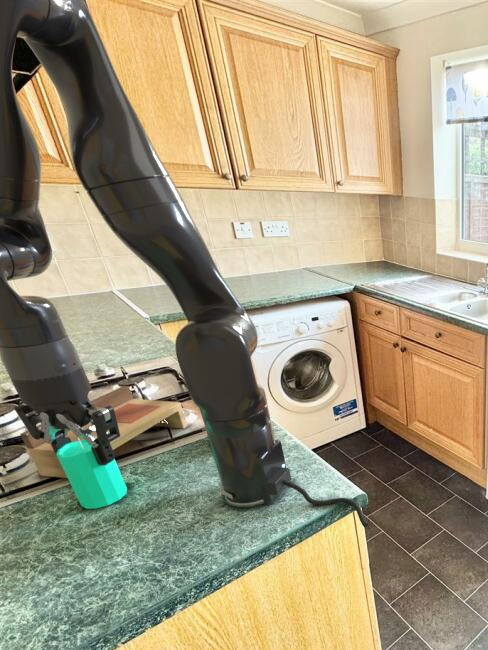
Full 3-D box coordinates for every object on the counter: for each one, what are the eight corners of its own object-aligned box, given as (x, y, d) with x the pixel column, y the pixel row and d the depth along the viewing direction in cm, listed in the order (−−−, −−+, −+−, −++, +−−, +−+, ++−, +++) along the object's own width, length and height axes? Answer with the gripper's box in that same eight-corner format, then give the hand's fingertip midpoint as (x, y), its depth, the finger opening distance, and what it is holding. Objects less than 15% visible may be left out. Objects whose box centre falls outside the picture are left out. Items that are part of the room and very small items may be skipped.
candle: (131, 496, 73) (106, 438, 68) (84, 514, 69) (54, 453, 64) (123, 481, 76) (99, 424, 71) (78, 497, 72) (49, 438, 67)
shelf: (187, 425, 94) (176, 390, 91) (103, 481, 76) (85, 439, 72) (136, 421, 95) (123, 385, 91) (41, 475, 77) (19, 433, 73)
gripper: (115, 362, 65) (149, 452, 72) (28, 355, 66) (70, 445, 73) (66, 382, 59) (108, 478, 66) (-31, 374, 59) (21, 471, 66)
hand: (88, 460), depth 69 cm, fingers closed on candle, 6 cm apart
